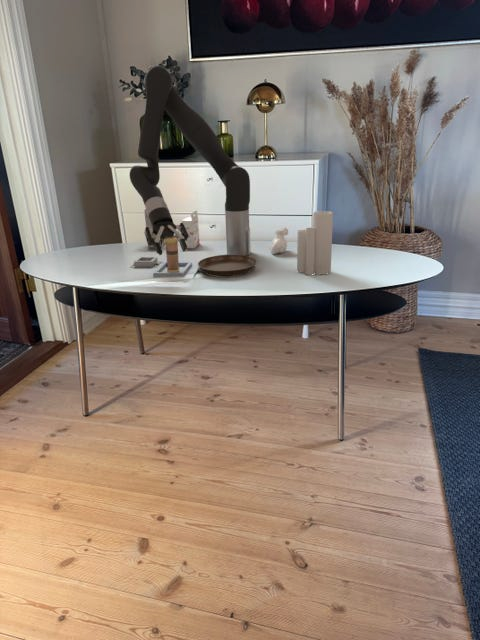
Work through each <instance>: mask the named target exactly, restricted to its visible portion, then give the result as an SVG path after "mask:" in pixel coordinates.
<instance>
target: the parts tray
mask: <svg viewBox="0 0 480 640" xmlns="http://www.w3.org/2000/svg"><path fill="white" fill-rule="evenodd" d="M192 266H193V262H192V261H179V267H184V268H183V269H182V270H181V271H177V272H168V271H165V272H164V271H163V270H164V269H165V268H166V267H167V261H163V262H162V263H161V264H160V265H159V266H158V267H157V268H156V270H154V271H153V272H152V277H159V278H160V277H161V278H162V277H163V278H164V277H169V278H170V277H175V278H177V277H179V278H180V277H184V276H185V275H186V274H187V273H188V272H189V270H190V269H191V267H192ZM162 271H163V272H162Z"/></svg>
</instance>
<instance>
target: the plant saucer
mask: <svg viewBox="0 0 480 640" xmlns="http://www.w3.org/2000/svg"><path fill="white" fill-rule="evenodd" d="M257 262H258V261H257V259H255V258H254V257H252V256H250V255H228V254H219V255H213V256H209V257H205V258H203V259H201V260H200V261H198V262H197V266H198V267H199V269H200V270H201V271H202V272H203V273H204V274H206V275H207V276H211V277H219V278H220V277H222V278H223V277H224V278H225V277H226V278H227V277H230V276H231V277H237V276H238V275H239V276H243V275H246V274H248V273H249V272H251V271H252V270H253V269H254V268H255V266H256V265H257Z"/></svg>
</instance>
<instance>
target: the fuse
mask: <svg viewBox="0 0 480 640" xmlns="http://www.w3.org/2000/svg"><path fill="white" fill-rule="evenodd" d="M178 243H179V241H177V238H176V237H168V238H165V254H166V256H165V257H166V262H167V266H166V267H167V268H166V269H167V271H166V272H180V266H179V262H180V261H179V248H178V245H179V244H178Z"/></svg>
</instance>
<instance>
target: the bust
mask: <svg viewBox="0 0 480 640" xmlns="http://www.w3.org/2000/svg"><path fill="white" fill-rule="evenodd" d="M274 233H275V235H276V236H275V237H274V238H273V239H272V241H271V243H270V246H269V251H270V253H271V254H272V255H275V254H283V253H285V251H286V249H287V248H288V244H287V243H288V241H287V239H286V238H285V236H288V235H289V229H288V228H287V227H286V226H284V227H283V226H280V227H278V228H277V229H276V231H275V232H274Z"/></svg>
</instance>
